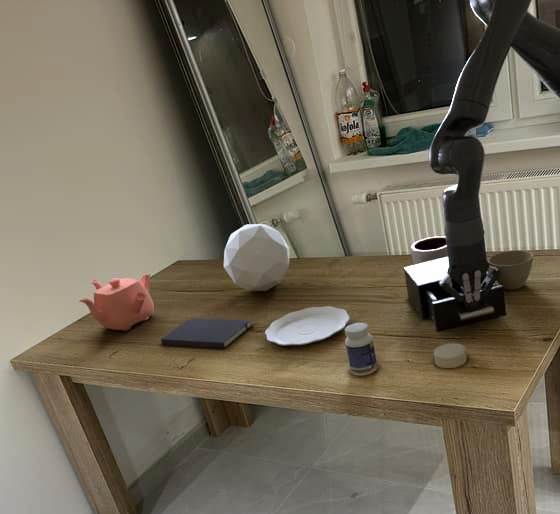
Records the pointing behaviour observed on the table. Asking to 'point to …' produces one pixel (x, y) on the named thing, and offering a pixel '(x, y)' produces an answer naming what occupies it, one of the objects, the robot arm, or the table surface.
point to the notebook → (206, 332)
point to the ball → (256, 257)
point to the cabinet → (424, 281)
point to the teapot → (121, 302)
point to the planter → (429, 250)
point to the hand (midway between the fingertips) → (473, 315)
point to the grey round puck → (450, 355)
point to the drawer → (461, 307)
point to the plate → (307, 325)
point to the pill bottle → (360, 349)
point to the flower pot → (512, 267)
